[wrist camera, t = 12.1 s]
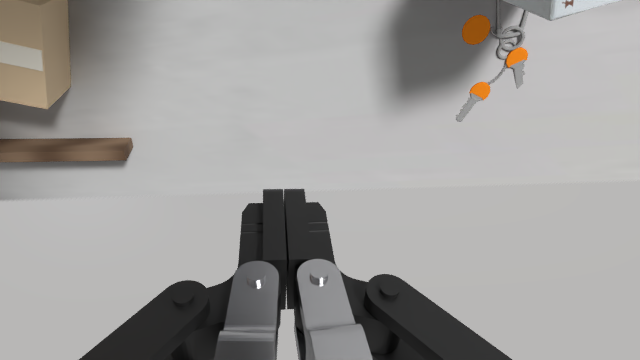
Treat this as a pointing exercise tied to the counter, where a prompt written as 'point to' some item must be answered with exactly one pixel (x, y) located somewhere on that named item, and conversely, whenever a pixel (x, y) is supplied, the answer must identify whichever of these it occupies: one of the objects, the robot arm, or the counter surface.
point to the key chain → (476, 33)
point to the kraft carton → (34, 51)
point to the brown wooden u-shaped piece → (65, 149)
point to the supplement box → (557, 6)
